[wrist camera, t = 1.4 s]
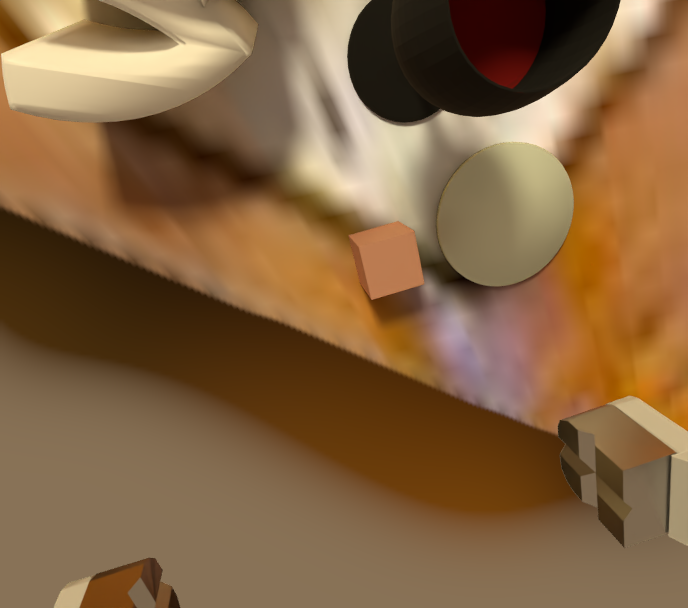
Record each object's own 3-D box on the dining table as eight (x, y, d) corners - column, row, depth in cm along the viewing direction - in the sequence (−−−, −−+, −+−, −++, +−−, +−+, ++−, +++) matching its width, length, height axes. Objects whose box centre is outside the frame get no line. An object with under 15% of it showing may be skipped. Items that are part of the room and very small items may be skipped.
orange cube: (398, 221, 44) (414, 231, 39) (407, 269, 46) (424, 284, 41) (348, 235, 44) (358, 247, 39) (360, 283, 46) (371, 299, 41)
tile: (564, 125, 43) (569, 125, 43) (572, 262, 49) (577, 264, 48) (424, 164, 42) (427, 164, 42) (448, 300, 48) (451, 302, 47)
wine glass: (379, 144, 41) (475, 151, 23) (324, 24, 37) (387, -85, 19) (480, 87, 41) (662, 48, 23) (437, -40, 37) (612, -213, 19)
